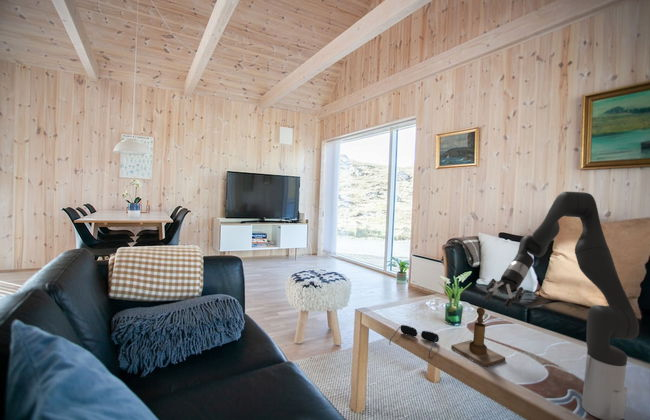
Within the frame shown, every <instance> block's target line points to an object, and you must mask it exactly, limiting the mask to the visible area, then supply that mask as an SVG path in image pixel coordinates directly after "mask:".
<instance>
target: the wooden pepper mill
mask: <svg viewBox="0 0 650 420" xmlns="http://www.w3.org/2000/svg"><path fill="white" fill-rule="evenodd" d="M476 313H477V316H478V317H477V318H476V319H477V322H474V327H473V339H472V342H471V343H470V345H469V350H470V351H471V352H473V353H475V354H479V355H485V354H486V353H487V348H488V346H487V345H486V344H485V332H486V324H484V318H483V316H484V315H485V313H486V310H485V308H484V307H477V308H476Z"/></svg>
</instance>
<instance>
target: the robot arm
mask: <svg viewBox="0 0 650 420" xmlns="http://www.w3.org/2000/svg"><path fill="white" fill-rule="evenodd" d="M563 217H568V218H569V217H571V218H579V219H580V222H581V224H582V231H581V234H580V235H579V238H578V240H577V241H576V244H575V247H574V254H575V258H576V261H577V264H578V268H579V270H580V271H581V272H582V273H583V275H584V276H585V277H586V278H587V279H588V280H589V281H590V282H591V283H592V284H594V286H595V287H596V288H597V289H598V290H599V291H600V292H601V293H602V295H603V297H604V298H605V300H606V302H607V305H603V304H602V305H600V304H599V305H598V304H594V305H592V306H591V307H590V308H588V312H587V316H586V317H587V318H586V336H585V337H586V342H585V343H586V349H587V350H586V360H585V370H584V378H583V379H584V380H583V381H584V382H583V390H582V397H581V398H582V400H581V407H582V409H584V410H585V412H586V413H588V414H590V415H591V416H593V417H595V418H597V419H600V420H623V419H624V418H625V411H626V410H625V409H626V401H627V400H626V399H627V391H628V389H627V387H625V383H626V382H625V381H626V373H627V364H628V355H627V354H626V352H625V351H623V350H622V349H620V348H618V347H617V346H615V345H611V344H610V339H617V340H619V339H621V340H633V339H636V338H637V337H638V336H639V333H640V324H639V320H638V318H637V315H636V311H635V310H634V309H633V306H632V304H631V303H630V300H629V298H628V296H627V294H626V292H625V290H624V287H623V284H622V283H621V279H620V276H619V274H618V271H617V269H616V265H615V262H614V259H613V256H612V253H611V250H610V248H609V246H608V243H607V240H606V237H605V234H604V232H603V227H602V224H601V220H600V216H599V209H598V205H597V201H596V200H595V197H594V196H593V194H590V192H589V193H588V192H582V191H562V192H560V193H559V194H558V195H557V196H556V198H555V199H554V200H553V203H552V204H551V206H550V208H549V209H548V212H547V213H546V215H545V218H544V220H543V221H542V222H541V223H540V225H539V226H538V227H537V228H536V229H535V231H534V232H533V233H532V235H530V234H527V235H524V236H523V237H522V238H521V239H520V241H519V246H518V251H517V253H516V255H515V257H514V258H513V260H512V262H511V263H509V265H508V266H507V268H506V269H505V271H504V272H503V274H502V275H501V278H500V280H496V279H494V278H492V279H491V280H490V281H489V283H488V284H487V285H486V286H485V290H486V291H487V293H486V294H485V297H484V299H485V301H486V302H490V301H491V299H492V298H493V296H494V295H495V294H499V293H501V294H505V295H506V296H507V295H508V297H509V298H507V299H506V301H505V302H504V304H503V306H504V308H505V309H509V308H511V306H512V305H513V303H515V302H516V303H520V301H521V300H522V298H523V297H524V294H525V293H526V290H524V288H523V286H521V285H522V284H523V282H524V280H525V278H526V277H527V275H528V272H529V271H530V269H531V268H532V266H533V265H534V262H535V260H534V258H533V256H534V257H536V258H542V257H543V256H544V255H545V254H546V253H547V251H548V247H549V245H550V243H551V242H552V241H553V240H554V239H555V238H556V237H557V236H558V234H559V232H560V223H559V221H560V219H562V218H563ZM514 293H515V294H514Z"/></svg>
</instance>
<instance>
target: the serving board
mask: <svg viewBox="0 0 650 420" xmlns="http://www.w3.org/2000/svg"><path fill="white" fill-rule="evenodd" d="M472 341H473V339H469V340H465V341H463V342H458V343H455V344H451V345H450V346H451V347H450V348H451V350H453V351H455V352H456V351H457V352H456V353H458V354H460V355H461V356H463V355H464V357H465V358H467V359H468V360H470V359H471V360H470V361H472V360H473V361H472V362H474V363H476V364H477V363H478V365H479V364H480V365H479V366H481V365H482V366H481V367H483V368H485V367H486V368H489V367H491V366H495V365H497V364H501V363H504V362H506V356H504V355H502V354H499V353H497V352H495V351H494V350H492V349H489V348H488V347H487V353H486V354H485V355H479V354H475V353H473V352H471V351H470V350H469V345H470V343H471V342H472ZM488 366H489V367H488Z"/></svg>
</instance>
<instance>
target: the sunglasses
mask: <svg viewBox="0 0 650 420" xmlns="http://www.w3.org/2000/svg"><path fill="white" fill-rule="evenodd" d="M399 330H400V331H401V333H402V334H404V335H406V334H407V336H410V335H411V337H414V336H415V337H418V333H419V334H420V337H421V339H423V340H424V339H425V341H428V342H431V341H432V343H433V344H432V345H431V347H430V348H429V351H428V358H430V355H431V350H432V348H433V347H434V345H435V342H436V343H438V342H439V341H440V337H439V335H438V334H437V333H435V332H433V331H431V330H430V331H429V330H422V331H421V332H419V331H418V330H417V329H416V328H415V327H412V326H411V325H407V324H400V326H399V327H398V329H396V330H395V332H394V334H393V335H392V336H391V338H390V339H389V342H388V343H389V346H390V345H391V343H392V342H391V340H392V339H393V337H394V336H395V335H396V334H397V332H398V331H399Z"/></svg>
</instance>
